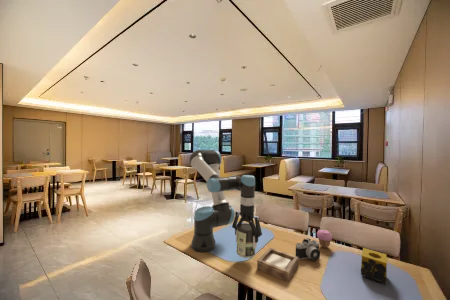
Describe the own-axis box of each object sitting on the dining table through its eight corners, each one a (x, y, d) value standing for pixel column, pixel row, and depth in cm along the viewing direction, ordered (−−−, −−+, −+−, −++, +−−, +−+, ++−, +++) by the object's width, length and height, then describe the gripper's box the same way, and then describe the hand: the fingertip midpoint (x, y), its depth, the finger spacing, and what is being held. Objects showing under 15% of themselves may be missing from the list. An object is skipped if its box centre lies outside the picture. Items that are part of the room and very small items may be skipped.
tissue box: (361, 265, 104) (362, 247, 104) (386, 273, 98) (386, 253, 98) (360, 275, 96) (360, 255, 96) (386, 284, 90) (387, 263, 90)
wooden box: (257, 268, 100) (257, 260, 100) (270, 255, 113) (270, 247, 113) (288, 281, 91) (288, 272, 90) (298, 265, 103) (298, 257, 103)
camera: (302, 264, 104) (302, 246, 104) (292, 255, 113) (292, 238, 113) (326, 260, 109) (326, 242, 109) (314, 251, 117) (315, 235, 117)
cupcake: (327, 250, 119) (327, 234, 118) (314, 245, 126) (314, 229, 125) (334, 246, 124) (334, 231, 124) (321, 241, 131) (321, 226, 131)
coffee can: (255, 248, 110) (256, 224, 109) (254, 259, 100) (255, 232, 99) (237, 246, 112) (238, 222, 111) (234, 256, 102) (235, 230, 101)
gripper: (226, 201, 109) (225, 240, 109) (263, 210, 95) (261, 255, 96) (233, 198, 115) (232, 235, 115) (269, 207, 101) (268, 248, 102)
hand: (245, 244), depth 106 cm, fingers closed on coffee can, 10 cm apart
